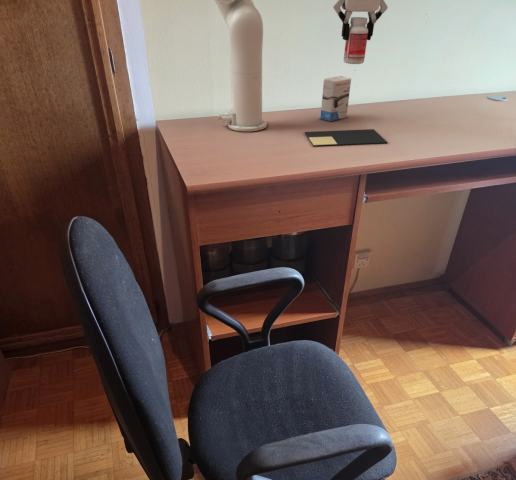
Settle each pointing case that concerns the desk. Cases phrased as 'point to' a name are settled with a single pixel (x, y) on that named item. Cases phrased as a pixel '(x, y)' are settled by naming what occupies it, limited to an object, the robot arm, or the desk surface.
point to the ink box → (335, 98)
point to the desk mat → (345, 137)
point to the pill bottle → (356, 41)
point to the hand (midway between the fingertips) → (356, 38)
